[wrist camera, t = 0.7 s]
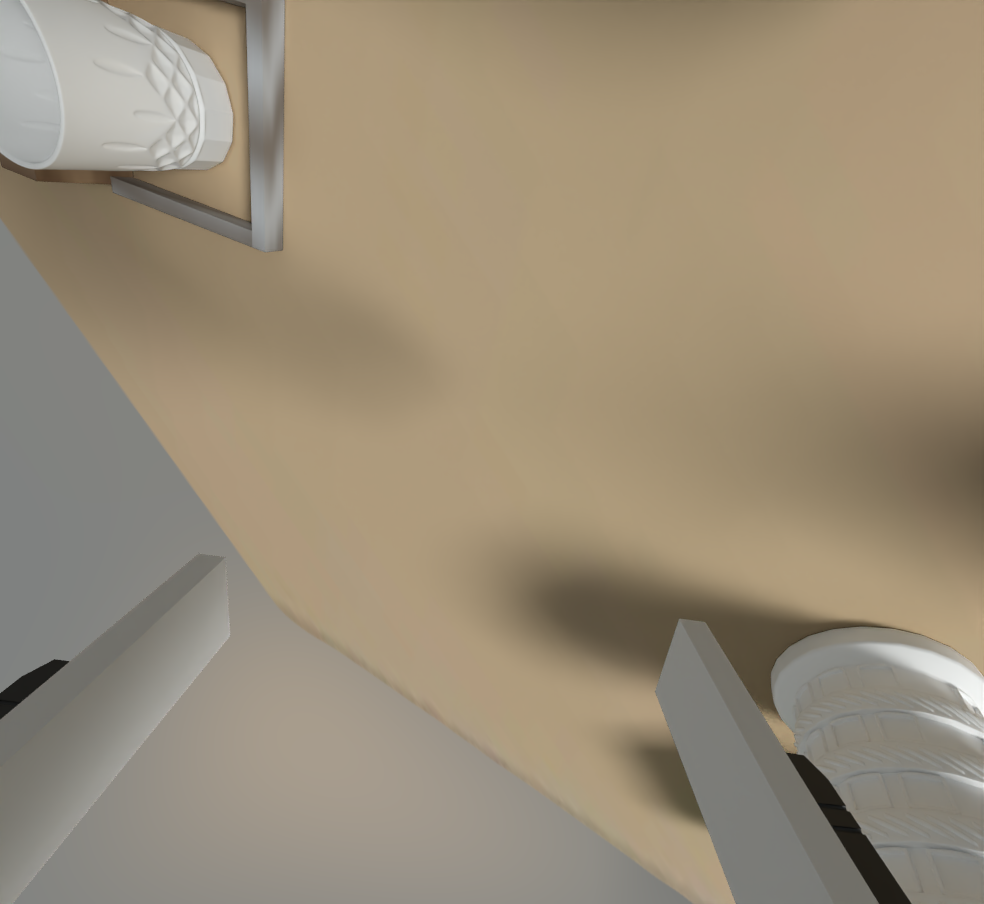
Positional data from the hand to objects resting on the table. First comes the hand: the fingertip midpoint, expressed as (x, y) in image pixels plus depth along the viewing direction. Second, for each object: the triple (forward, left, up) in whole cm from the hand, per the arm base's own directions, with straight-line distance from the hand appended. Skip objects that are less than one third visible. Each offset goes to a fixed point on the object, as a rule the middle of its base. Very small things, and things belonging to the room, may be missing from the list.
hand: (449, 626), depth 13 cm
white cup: (-9, -29, -19) cm, 36 cm away
